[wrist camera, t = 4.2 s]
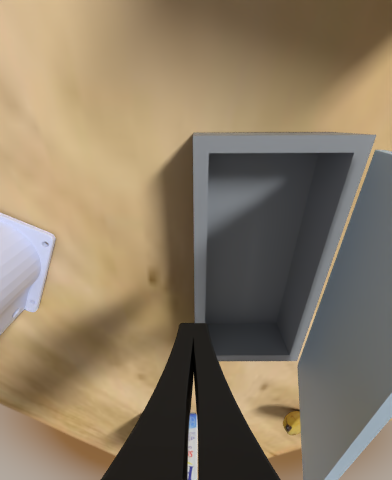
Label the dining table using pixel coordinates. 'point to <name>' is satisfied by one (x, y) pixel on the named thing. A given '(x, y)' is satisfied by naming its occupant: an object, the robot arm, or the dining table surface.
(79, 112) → the dining table surface
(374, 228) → the lid flap
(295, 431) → the banana
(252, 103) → the dining table surface
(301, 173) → the charcoal box
